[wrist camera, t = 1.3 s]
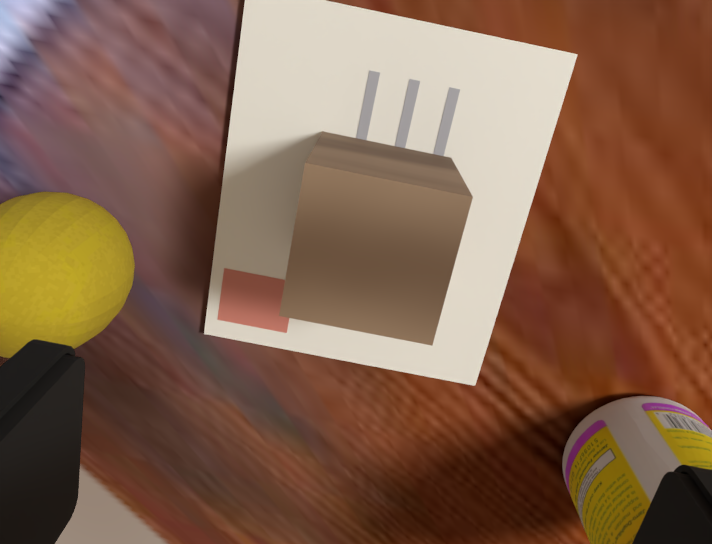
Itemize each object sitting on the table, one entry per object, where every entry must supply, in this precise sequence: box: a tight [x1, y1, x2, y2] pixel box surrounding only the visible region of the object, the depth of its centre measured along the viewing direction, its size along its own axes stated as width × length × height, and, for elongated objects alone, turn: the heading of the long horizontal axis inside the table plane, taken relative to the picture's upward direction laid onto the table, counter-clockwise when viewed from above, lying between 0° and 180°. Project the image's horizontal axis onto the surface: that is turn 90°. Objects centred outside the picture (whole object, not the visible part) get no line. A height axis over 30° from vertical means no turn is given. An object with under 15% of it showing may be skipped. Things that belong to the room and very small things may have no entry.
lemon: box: [0, 192, 135, 358], centre depth 22 cm, size 6×6×8 cm
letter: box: [204, 0, 578, 386], centre depth 25 cm, size 14×12×1 cm
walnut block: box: [279, 131, 473, 346], centre depth 22 cm, size 5×5×6 cm
